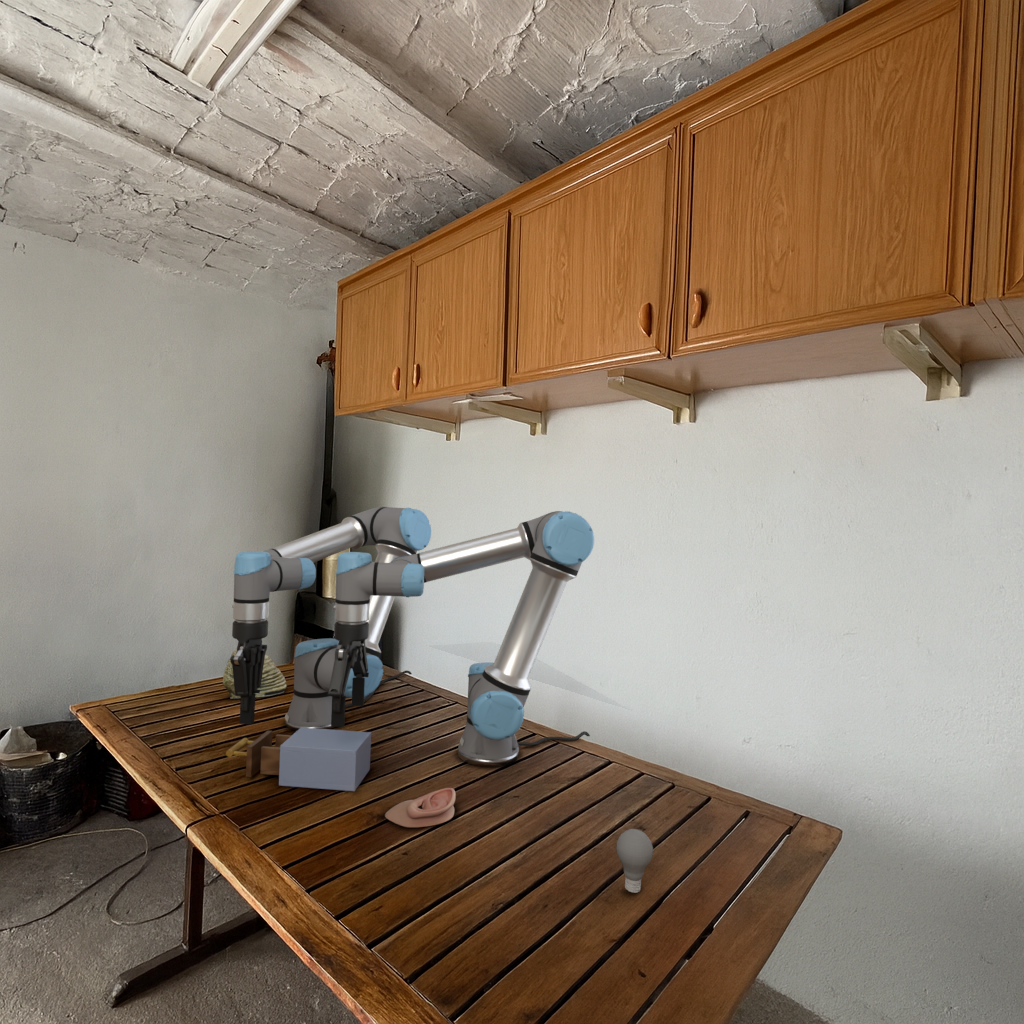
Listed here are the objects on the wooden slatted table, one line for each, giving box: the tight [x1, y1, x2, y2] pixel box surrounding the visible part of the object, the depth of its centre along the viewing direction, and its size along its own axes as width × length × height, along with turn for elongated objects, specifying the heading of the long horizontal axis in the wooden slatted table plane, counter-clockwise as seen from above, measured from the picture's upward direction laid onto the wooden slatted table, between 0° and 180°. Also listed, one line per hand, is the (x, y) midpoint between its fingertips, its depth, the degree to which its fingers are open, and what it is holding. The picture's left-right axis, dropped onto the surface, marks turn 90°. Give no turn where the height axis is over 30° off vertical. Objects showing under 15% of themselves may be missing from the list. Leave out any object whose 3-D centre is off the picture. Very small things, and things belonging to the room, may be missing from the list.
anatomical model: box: [384, 787, 457, 828], centre depth 128 cm, size 13×4×12 cm
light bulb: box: [615, 828, 654, 894], centre depth 106 cm, size 6×6×10 cm
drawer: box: [225, 730, 293, 778], centre depth 144 cm, size 21×10×7 cm, turn 86°
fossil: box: [222, 648, 288, 699], centre depth 198 cm, size 9×18×15 cm, turn 132°
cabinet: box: [278, 728, 372, 792], centre depth 143 cm, size 17×11×9 cm, turn 86°
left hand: (246, 722), depth 144 cm, fingers closed
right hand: (348, 715), depth 142 cm, fingers open, 13 cm apart
